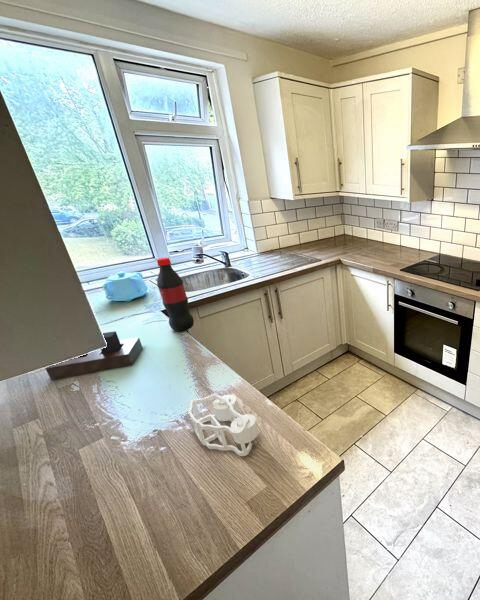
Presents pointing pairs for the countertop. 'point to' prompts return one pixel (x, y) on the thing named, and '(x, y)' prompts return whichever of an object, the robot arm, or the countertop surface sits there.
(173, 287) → the cola bottle
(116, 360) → the walnut base
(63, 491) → the countertop surface
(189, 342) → the countertop surface
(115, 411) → the countertop surface
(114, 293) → the decorative pot
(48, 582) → the countertop surface
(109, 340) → the black upright block
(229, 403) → the skeletal toy car
